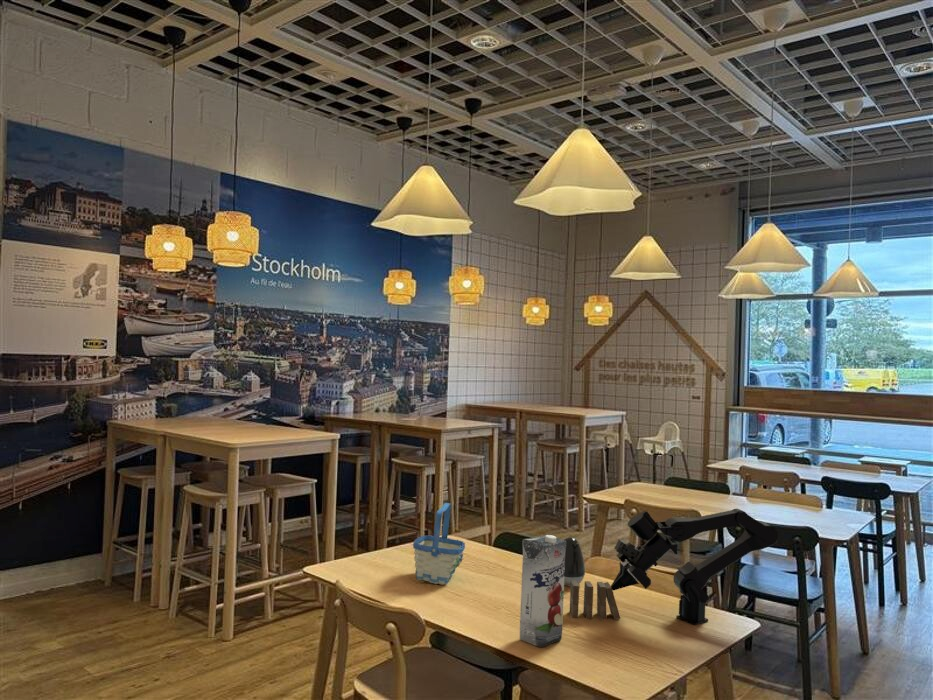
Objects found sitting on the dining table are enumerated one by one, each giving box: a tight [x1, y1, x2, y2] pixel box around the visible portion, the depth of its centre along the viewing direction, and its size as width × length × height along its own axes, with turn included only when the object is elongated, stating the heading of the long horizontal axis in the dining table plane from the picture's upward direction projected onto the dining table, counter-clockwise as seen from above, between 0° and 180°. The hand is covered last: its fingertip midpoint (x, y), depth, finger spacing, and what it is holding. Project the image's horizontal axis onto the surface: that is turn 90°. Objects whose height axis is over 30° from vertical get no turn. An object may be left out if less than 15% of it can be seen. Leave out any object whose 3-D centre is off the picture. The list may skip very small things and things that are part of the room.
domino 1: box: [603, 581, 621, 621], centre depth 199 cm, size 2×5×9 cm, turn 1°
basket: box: [412, 502, 466, 586], centre depth 229 cm, size 21×16×24 cm
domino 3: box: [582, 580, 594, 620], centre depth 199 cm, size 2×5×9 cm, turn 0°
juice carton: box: [519, 534, 566, 648], centre depth 179 cm, size 9×10×27 cm
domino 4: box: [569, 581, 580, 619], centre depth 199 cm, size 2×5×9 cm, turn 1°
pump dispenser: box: [563, 536, 586, 587], centre depth 229 cm, size 10×10×15 cm
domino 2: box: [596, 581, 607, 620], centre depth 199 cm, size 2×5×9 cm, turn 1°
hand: (611, 588), depth 199 cm, fingers closed
